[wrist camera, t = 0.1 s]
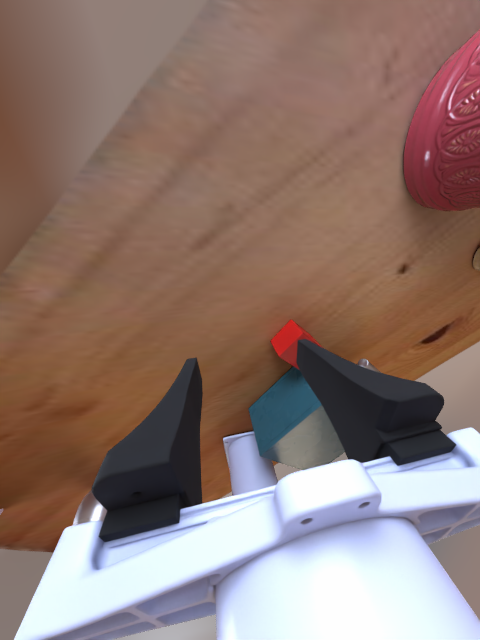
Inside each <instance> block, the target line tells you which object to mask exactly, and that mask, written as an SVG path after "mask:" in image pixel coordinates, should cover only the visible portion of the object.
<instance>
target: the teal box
mask: <svg viewBox="0 0 480 640" xmlns="http://www.w3.org/2000/svg"><path fill="white" fill-rule="evenodd" d="M249 413H250V417H251V421H252V425H253V429H254V434H255V438H256V442H257V446H258V450H259V454H260V457H263V458H267V459H270V460H273V461H276V462H279V463H282V464H285V465H288V466H291V467H295V468H298V469H301V470H306V469H310V468H314V467H318V466H322V465H326V464H329V463H330V462H332V461H333V460H334V459H336V458H337V457H339V456H340V455H341V454H343V453H344V452H345V450H344V448H343V446H342V444H341V442H340V440H339V438H338V435H337V433H336V431H335V429H334V427H333V425H332V423H331V421H330V419H329V417H328V415H327V414H326V412H325V410H324V408H323V406H322V404H321V403H320V401H319V400H318V398H317V397H316V395H315V394H314V392H313V391H312V389H311V388H310V386H309V385H308V383H307V381H306V380H305V378H304V377H303V375H302V373H301V371H300V370H299V369H297V368H296V367H294V366H293V367H292V368H291V369H290V370H289V371H288V372H287V373H285V374H284V375H283V376H282V377H281V378H280V379H279V380H278V381H277V382H276V383H275V384H274V385H273V386H272V387H271V388H270V389H269V390H268V391H267V392H266V393H264V394H263V395H262V396H261V397H260V398H259V399H258V400H257V401H256V402H255V403H254V404H253V405H252V406H251V407H250V408H249Z"/></svg>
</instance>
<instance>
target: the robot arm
mask: <svg viewBox="0 0 480 640" xmlns="http://www.w3.org/2000/svg"><path fill="white" fill-rule="evenodd" d="M296 363H297V365H298V367H299V369H300V371H301V373H302V375H303V377H304V378H305V380H306V381H307V383H308V385H309V386H310V388H311V389H312V391H313V392H314V394H315V395H316V397H317V398H318V400H319V401H320V403H321V404H322V406H323V408H324V410H325V412H326V414H327V415H328V417H329V419H330V421H331V423H332V425H333V427H334V429H335V431H336V433H337V435H338V438H339V440H340V442H341V444H342V446H343V448H344V450H345V453H346V455H347V457H348V460H342V461H338V462H334V463H330V464H326V465H322V466H318V467H314V468H310V469H306V470H302V471H298V472H295V473H292V474H289V475H287V476H285V477H284V478H282V479H281V480H280V481H278V480H277V477H276V474H275V470H274V466H273V463H272V460H270V459H267V458H263V457H260V454H259V450H258V446H257V442H256V438H255V434H254V431H251V432H247V433H242V434H237V435H233V436H228V437H225V438H223V442H224V447H225V452H226V456H227V461H228V466H229V468H230V477H231V487H232V496H231V497H227V498H223V499H219V500H215V501H211V502H207V503H203V504H202V489H201V464H200V420H201V408H202V394H203V393H202V378H201V374H200V370H199V366H198V362H197V358H191V359H187V360H186V362H185V364H184V366H183V368H182V370H181V372H180V373H179V375H178V377H177V378H176V380H175V382H174V383H173V385H172V386H171V388H170V389H169V391H168V392H167V394H166V395H165V396H164V398H163V399H162V400H161V402H160V403H159V404H158V405H157V406H156V408H155V409H154V410H153V411H152V412H151V413H150V414H149V415H148V416H147V417H146V419H145V420H144V421H143V422H142V423H141V424H140V425H138V426H137V427H136V428H135V429H134V430H133V431H132V432H131V433H130V434H129V435H128V436H126V437H125V438H124V439H123V440H122V441H120V442H119V443H118V444H117V445H115V446H114V447H113V448H112V449H111V450H109V451H108V453H107V455H106V457H105V459H104V460H103V463H102V465H101V467H100V469H99V472H98V474H97V477H96V479H95V481H94V484H93V486H92V494H93V495H94V497H95V498H96V499H97V501H98V502H99V503H100V504H101V505H102V506H103V507H104V508H105V509H106V510H107V513H106V516H105V518H104V521H99V520H96V521H90V522H86V523H82V524H78V525H74V526H70V527H67V528H66V529H64V531H63V533H62V535H61V538H60V540H59V542H58V544H57V546H56V549H55V551H54V553H53V555H52V557H51V560H50V562H49V564H48V566H47V568H46V571H45V573H44V575H43V577H42V579H41V582H40V584H39V586H38V588H37V590H36V593H35V595H34V597H33V599H32V602H31V603H30V606H29V608H28V610H27V612H26V614H25V617H24V619H23V621H22V623H21V625H20V628H19V630H18V632H17V634H16V637H15V639H14V640H112V639H117V638H120V637H125V636H128V635H132V634H136V633H141V632H145V631H149V630H153V629H157V628H161V627H166V626H170V625H174V624H178V623H182V622H186V621H190V620H195V619H199V618H203V617H207V616H211V615H215V614H216V633H217V640H480V620H479V619H478V618H477V616H476V615H475V613H474V612H473V610H472V609H471V607H470V606H469V604H468V603H467V602H466V600H465V599H464V597H463V596H462V595H461V593H460V591H459V590H458V589H457V587H456V586H455V584H454V583H453V582H452V580H451V579H450V577H449V576H448V574H447V573H446V571H445V570H444V568H443V567H442V566H441V564H440V563H439V561H438V560H437V558H436V557H435V556H434V554H433V553H432V551H431V550H430V548H429V547H428V545H429V544H431V543H433V542H436V541H439V540H441V539H444V538H446V537H449V536H451V535H454V534H456V533H459V532H462V531H464V530H466V529H469V528H472V527H475V526H477V525H480V434H479V433H478V432H477V431H476V430H474V429H473V428H466V429H462V430H458V431H454V432H451V433H449V434H447V435H445V434H444V433H443V432H442V431H441V430H440V429H441V428H442V427H441V425H440V424H439V423H437V422H436V421H435V420H436V418H437V416H438V415H439V413H440V411H441V409H442V408H443V405H444V398H443V396H442V395H440V394H439V393H438V392H436V391H435V390H434V389H432V388H431V387H430V386H428V385H427V384H425V383H421V382H416V381H411V380H406V379H401V378H398V377H394V376H390V375H386V374H383V373H379V372H376V371H373V370H370V369H367V368H365V367H362V366H359V365H357V364H354V363H352V362H350V361H347V360H345V359H343V358H341V357H339V356H337V355H335V354H333V353H331V352H329V351H327V350H325V349H324V348H322V347H320V346H318V345H317V344H315V343H313V342H311V341H309V340H307V339H301V340H298V343H297V359H296Z"/></svg>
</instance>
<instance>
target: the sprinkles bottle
mask: <svg viewBox="0 0 480 640" xmlns="http://www.w3.org/2000/svg"><path fill="white" fill-rule="evenodd" d="M473 266H474V269H476V270H479V271H480V248H479V249H478V250H477V252H476V254H475V256H474V259H473Z"/></svg>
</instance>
